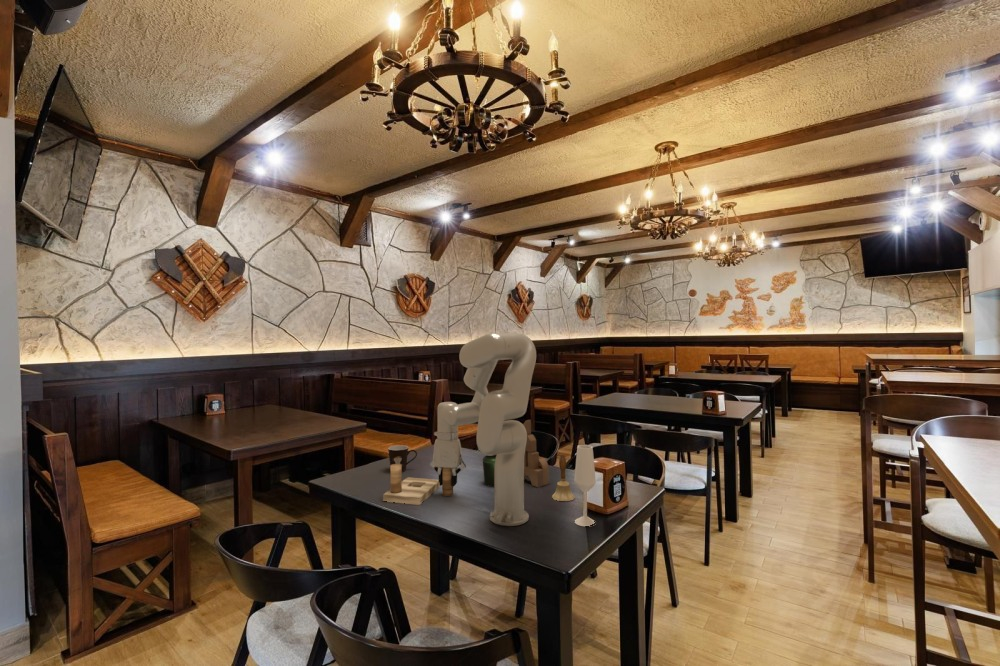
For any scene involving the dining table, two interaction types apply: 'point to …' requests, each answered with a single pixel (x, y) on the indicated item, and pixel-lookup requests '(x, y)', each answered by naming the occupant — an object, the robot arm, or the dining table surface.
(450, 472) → the peg
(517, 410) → the robot arm
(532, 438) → the wooden toy
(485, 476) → the potion bottle
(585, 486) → the champagne flute
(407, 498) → the board
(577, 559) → the dining table surface
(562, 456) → the hand bell
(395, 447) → the coffee mug
